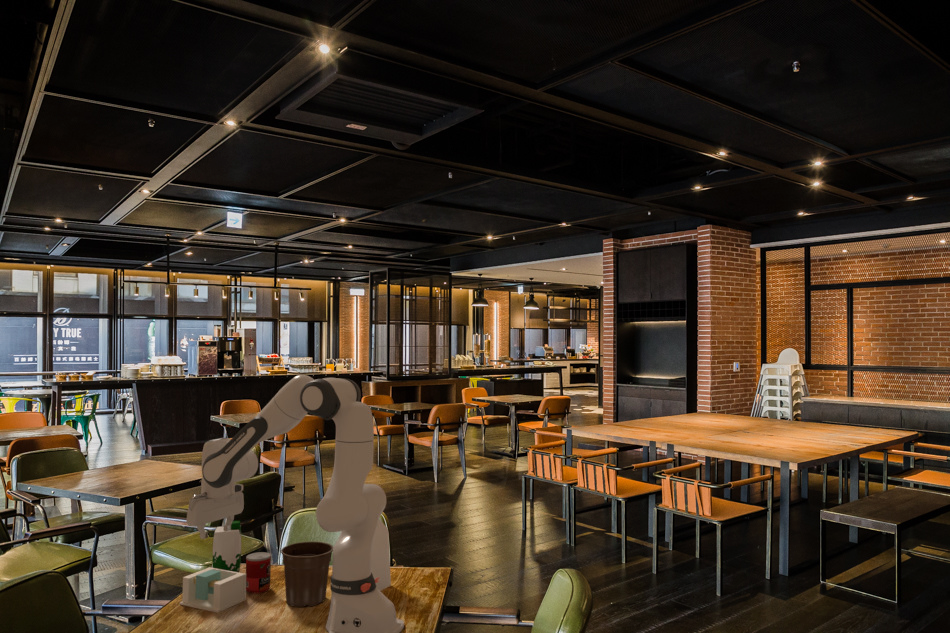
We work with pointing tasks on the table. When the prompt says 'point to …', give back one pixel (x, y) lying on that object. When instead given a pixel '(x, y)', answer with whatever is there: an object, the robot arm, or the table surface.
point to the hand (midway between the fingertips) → (215, 534)
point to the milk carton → (227, 548)
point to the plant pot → (306, 572)
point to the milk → (381, 557)
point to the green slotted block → (206, 583)
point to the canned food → (258, 572)
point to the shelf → (216, 591)
